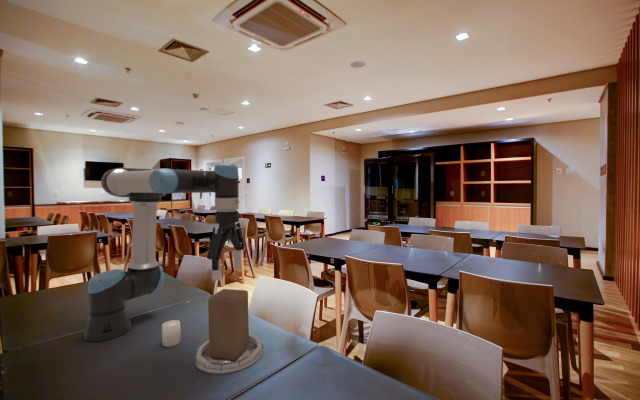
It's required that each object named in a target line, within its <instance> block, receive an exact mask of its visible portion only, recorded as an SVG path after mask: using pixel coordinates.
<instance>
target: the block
mask: <svg viewBox="0 0 640 400" xmlns="http://www.w3.org/2000/svg"><path fill="white" fill-rule="evenodd" d="M207 306H208V308H207V311H208V312H207V313H208V340H209V355H210V357H212V358H220V359H229V360H236V359H238V357H239V356H240V355H241V354H242V353H243V352H244V350H245V349H246V348H247V347H248V345H249V334H250V332H249V291H248V290H244V289H230V288H223V289H220V290H219V291H218V292H216V293H214V294H213V295H212V296H210V297H209V298H208V300H207Z"/></svg>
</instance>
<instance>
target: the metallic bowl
mask: <svg viewBox="0 0 640 400" xmlns="http://www.w3.org/2000/svg"><path fill="white" fill-rule="evenodd" d="M263 353H264V346H263V344H262V343H261V339H260V338H259V337H257V336H256V335H254V334H251V333H249V345H248V347H247V348H246V349H245V350H244V352H243V353H242V354H241V355H240V356H239V357H238V359H236V360H229V359H220V358H212V357H210V355H209V339H207V340H206V341H205V342H203V344H201V345H200V346H199V347H198V348H197V352H196V354H195V356H194V365H195V367H197V369H198V370H200V371H201V372H204V373H206V374H211V375H228V374H232V373H237V372H240V371H243V370H245V369H248V368H250V367H251V366H253V365H255V364H256V363H257V362H258V361H259V360H260V359H261V358H262V356H263Z"/></svg>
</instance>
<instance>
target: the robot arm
mask: <svg viewBox="0 0 640 400" xmlns="http://www.w3.org/2000/svg"><path fill="white" fill-rule="evenodd" d="M239 178H240V176H239V168H238V165H237V164H234V163H216V164H215V165H214V169H213V170H198V169H194V170H193V169H192V170H191V169H178V168H176V169H175V168H168V167H167V168H165V167H164V168H155V169H153V168H133V167H132V168H131V167H129V168H128V167H116V168H112V169H109V170H108V171H105V172H104V174H103V175H102V177H101V181H100V183H101V184H100V185H101V187H102V189H103V190H104V191H105V192H106V193H107V194H108V195H109V196H110V195H111V196H114V197H116V198H128V202H129V203H131V204H132V235H131V236H132V238H131V239H132V241H131V261H130V262H129V263H128V264H127V270H126V271H124V270H123V269H121V268H120V269H117V268H116V269H112V270H111V269H110V270H106V271H103V272H99V273H97V274H95V275H93V276H92V277H91V278H89V280H88V283H87V284H88V286H87V287H88V288H87V294H88V295H87V297H88V314H89V315H88V319H87V323H86V326H85V328H84V331H83V339H84V340H85V341H87V342H103V341H107V340H111V339H115V338H119V337H120V336H123V335H125V334H126V333H127V332H129V331H130V330H131V328H132V322H131V321H132V320H131V319H130V317H129V314H128V313H127V309H126V302H127V301H130V300H134V299H137V298H140V297H144V296H148V295H151V294H153V293H156V292H157V291H160V289H161V288H162V287H163V285H164V283H165V272H164V268H163V266H161V265H160V262H158V261H157V260H156V244H157V243H156V241H157V211H158V210H157V209H158V205H159V204H160V203H161V202H162V197H164V196H166V195H167V194H182V193H184V194H185V193H186V194H190V193H191V194H193V193H195V194H196V193H197V194H198V193H199V194H200V193H201V194H207V193H210V194H211V193H214V209H215V210H216V211H215V213H214V214H215V215H214V216H215V217H214V221H215V223H217V224H218V226H217V227H216V226H215V227H212V234H211V235H212V236H211V239H210V242H209V247H208V248H209V249H208V251H207V256H206V259H208V260H210V261H211V270H212V271H211V274H212V276H211V277H212V278H211V279H212V281H222V258H221V255H222V253H223V250H224V247H225V245H226V242H228V240H230V243H231V244H232V247H233V248H234V249H233V269H235V270H237V269H238V270H242V268H243V265H242V263H243V262H242V261H243V260H242V259H243V257H242V251H244V250H245V246H246V244H245V241H244V237H243V233H242V229H241V222H239V221H240V212H239V211H238V210H239V207H240V206H239V204H240V200H239Z"/></svg>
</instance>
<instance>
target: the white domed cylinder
mask: <svg viewBox="0 0 640 400" xmlns="http://www.w3.org/2000/svg"><path fill="white" fill-rule="evenodd" d="M181 337H182V336H181V320H178V319H172V320H167V321H164V322H163V323H162V324H161V339H162V342H161V343H162V346H163V347H166V348H169V347H174V346H177V345H179V344H180V343H181V342H182V341H181Z"/></svg>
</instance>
